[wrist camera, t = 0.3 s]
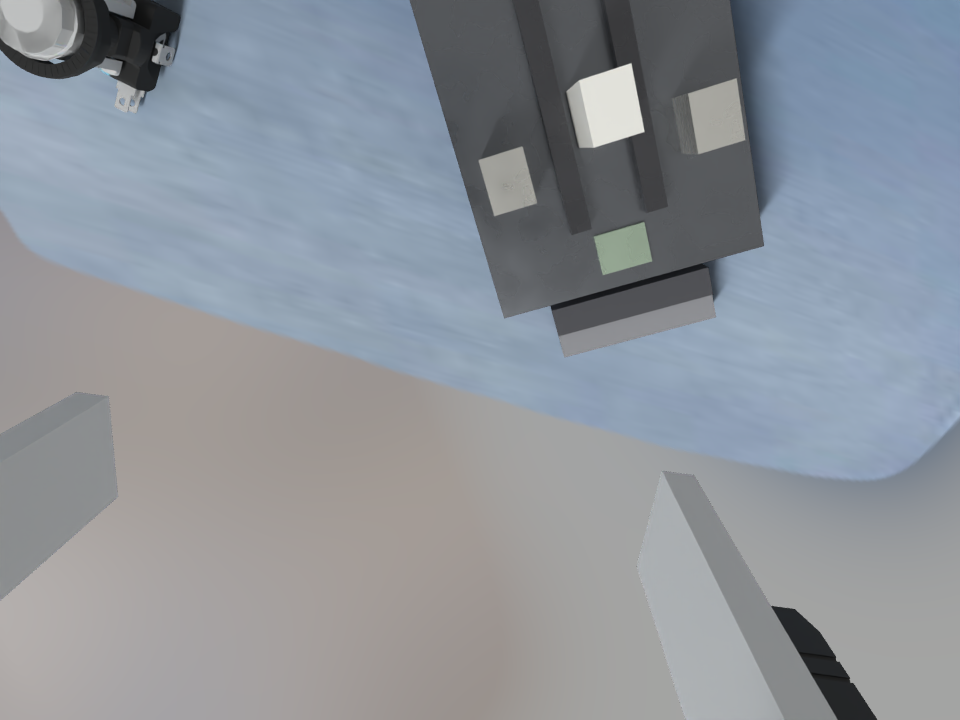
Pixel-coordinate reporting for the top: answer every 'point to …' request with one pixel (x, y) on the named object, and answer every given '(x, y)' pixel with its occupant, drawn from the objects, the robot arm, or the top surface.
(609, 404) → the top surface
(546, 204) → the panel
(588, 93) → the lever
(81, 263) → the top surface
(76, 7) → the push button
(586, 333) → the narrow gray bar
